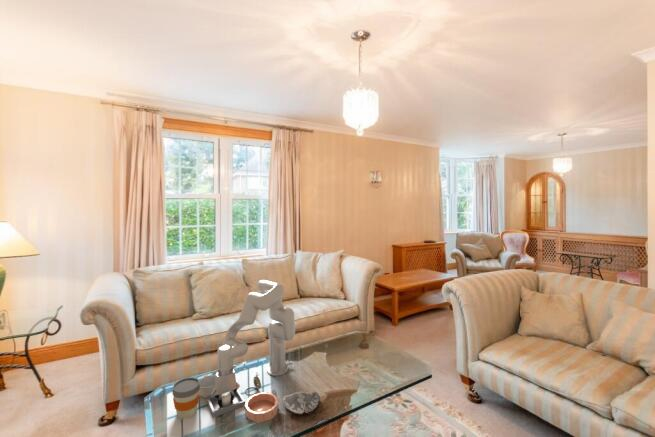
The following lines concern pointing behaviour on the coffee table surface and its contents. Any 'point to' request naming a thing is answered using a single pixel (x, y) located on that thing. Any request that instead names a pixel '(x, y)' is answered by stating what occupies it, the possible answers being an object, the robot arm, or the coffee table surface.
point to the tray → (218, 410)
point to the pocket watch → (256, 381)
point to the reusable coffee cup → (186, 397)
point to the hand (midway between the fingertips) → (225, 403)
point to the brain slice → (301, 401)
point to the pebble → (226, 399)
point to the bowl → (261, 407)
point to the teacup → (207, 386)
